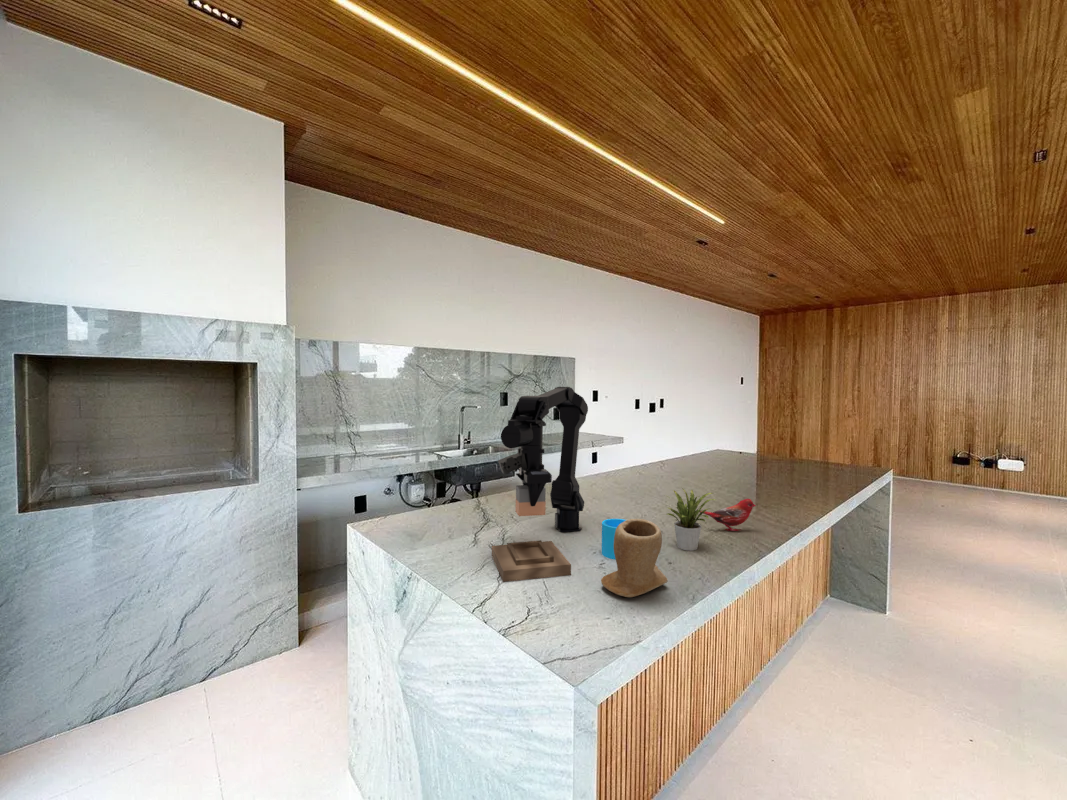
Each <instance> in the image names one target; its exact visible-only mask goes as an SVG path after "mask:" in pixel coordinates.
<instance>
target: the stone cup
mask: <svg viewBox="0 0 1067 800" xmlns="http://www.w3.org/2000/svg"><path fill="white" fill-rule="evenodd" d="M625 520H626V521H624V522H622V523H621V524H619V525H618V527H617V528H616V531H615V536H614V555H615V559H616V560H615V563H616V567H617V570H615V571H612V572H610V573H608V574H605V575H604V576H602V577H601V578H600V582H601V585H602V586H603V587H604V588H605V589H607V591H609V592H611V593H613V594H615V595H617V596H621V597H625V598H633V597H638V596H640V595H644V594H646V593H649V592H651V591H652V590H655V589H656V588H658V587H661V586H663V585H665V584H667V583H668V582H669V580H668V578H667V576H666V574H664V573H663V572H662V570H661V569H659V567H658V566H657V565H656V564H657V560H658V558H659V555H660V553H661V550H662V544H663V538H662V531H661V528H660V527H659V526H658V525H657V524H656V523H654V522H652V521H651V520H648V519H643V518H628V519H625Z"/></svg>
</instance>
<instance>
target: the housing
mask: <svg viewBox="0 0 1067 800" xmlns="http://www.w3.org/2000/svg"><path fill="white" fill-rule="evenodd" d="M546 489H547V488H546V487H545V486H544V488H543V490H542V492H541V494H540V496H539V498H538V500H537V503H536V505H535V506H531V505H530V499H529V492H528V486H527V485H523V484H522V485H521V484H518V485H515V513H516V514H517V516H518V517H530V516H531V517H532V516H546V509H547V508H546V504H547V502H546V494H547V493H546Z"/></svg>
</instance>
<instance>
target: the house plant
mask: <svg viewBox="0 0 1067 800" xmlns="http://www.w3.org/2000/svg"><path fill="white" fill-rule="evenodd" d="M681 489H682V490H683V492H684V494H685V497H686V503H685V504H684V501H683V498H682V496H681V495H680V494H679V493H678V492H677V491H675V490H674V489H673V490H672V491H673V492H674V494H675V496H676V499H677V502H676V507H675V508H676V509H677V510H675V509H673V508H671V507H666V508H667V509H668V510H670V511H671V512H672V513H674V514H672V513H671V512H669V513H667V515H668V516H672V517H674V518H675V519H676V520H677V521H675V522H674V523H673V526H674V532H675V539H676V546H677V548H678V549H681V550H684V551H691V552H692V551H696V550H698V545H699V541H700V537H701V532H702V531H701V530H702V525H701V524H700V523H698V522H697V521H703V522H706V520H705V519H704V518H706V519H709V515H706V514H703V513H705V511H706V512H707V510H711V509H712V508H709V507H708V508H705V509H703V510H702V508H703V507H704V506H705V505H706V504H707V503H708V502H709V501H716V499H714V498H711V499H710V498H709V499H706V500H704V498H706V497H707V496H709V495H711V494H713V492H707V493H704V494H703V495H702V496H698V495H697V496H696V497H695V493H694V491H693V489H691V490H690V492H689V494H690V496H689V495H688V492H687V491H686V490H685V488H683V487H681ZM664 496H666V497H668V498H669V495H666V494H664ZM697 498H698V499H697ZM702 500H704V502H703V503H701V502H702ZM700 503H701V504H700ZM699 505H700V506H699ZM698 506H699V507H698ZM700 511H702V512H701V513H700ZM700 517H704V518H700ZM678 518H679V519H678Z"/></svg>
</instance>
